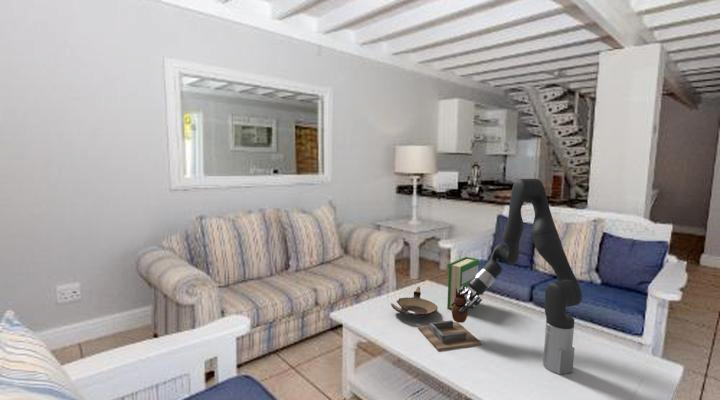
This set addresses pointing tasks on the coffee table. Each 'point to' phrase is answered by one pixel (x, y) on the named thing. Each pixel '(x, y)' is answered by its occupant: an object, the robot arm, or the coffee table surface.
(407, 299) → the oil lamp
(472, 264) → the hardback book
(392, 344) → the coffee table surface
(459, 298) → the wooden figurine
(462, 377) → the coffee table surface
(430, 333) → the keeper cradle
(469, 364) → the coffee table surface
